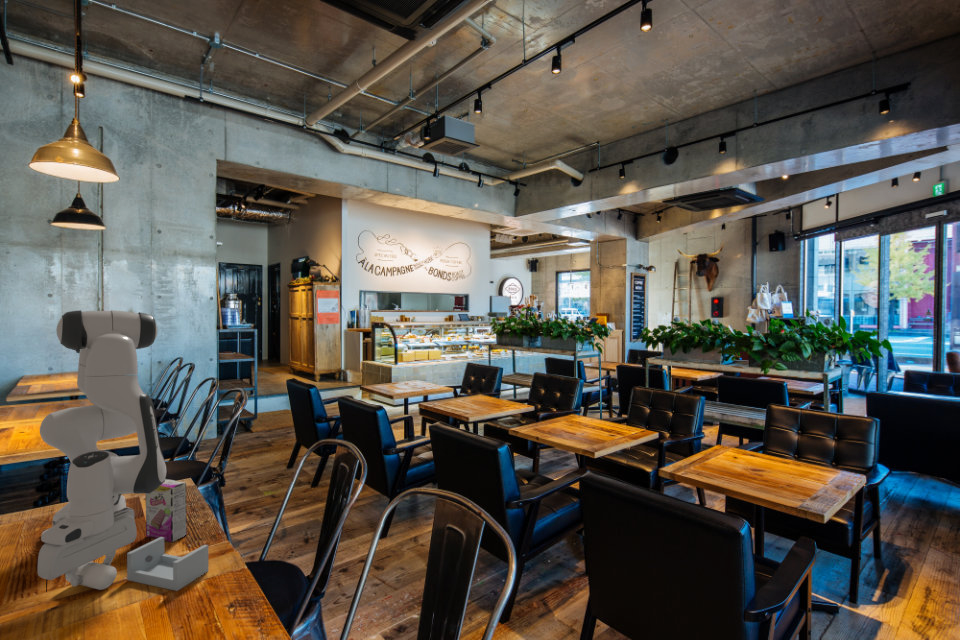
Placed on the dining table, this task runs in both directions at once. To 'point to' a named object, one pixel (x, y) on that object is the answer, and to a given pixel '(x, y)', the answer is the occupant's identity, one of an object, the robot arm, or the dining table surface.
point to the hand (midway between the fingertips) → (91, 577)
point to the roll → (96, 575)
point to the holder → (165, 566)
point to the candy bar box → (167, 511)
